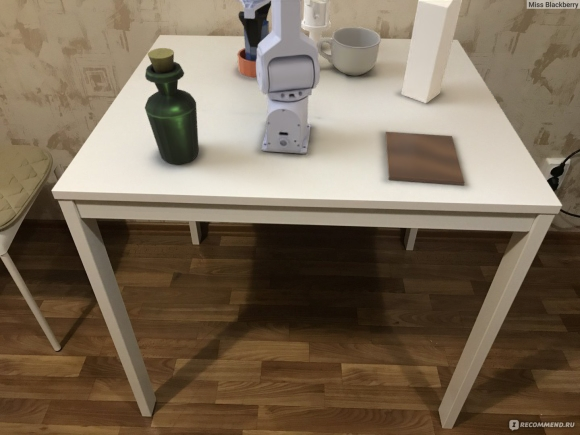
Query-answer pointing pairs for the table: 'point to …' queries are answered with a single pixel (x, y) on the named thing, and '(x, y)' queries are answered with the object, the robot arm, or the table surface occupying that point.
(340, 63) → the teacup
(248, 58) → the blue cup
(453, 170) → the walnut board
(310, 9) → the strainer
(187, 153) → the potion bottle
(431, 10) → the milk
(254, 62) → the orange ramekin
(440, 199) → the table surface
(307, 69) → the robot arm
